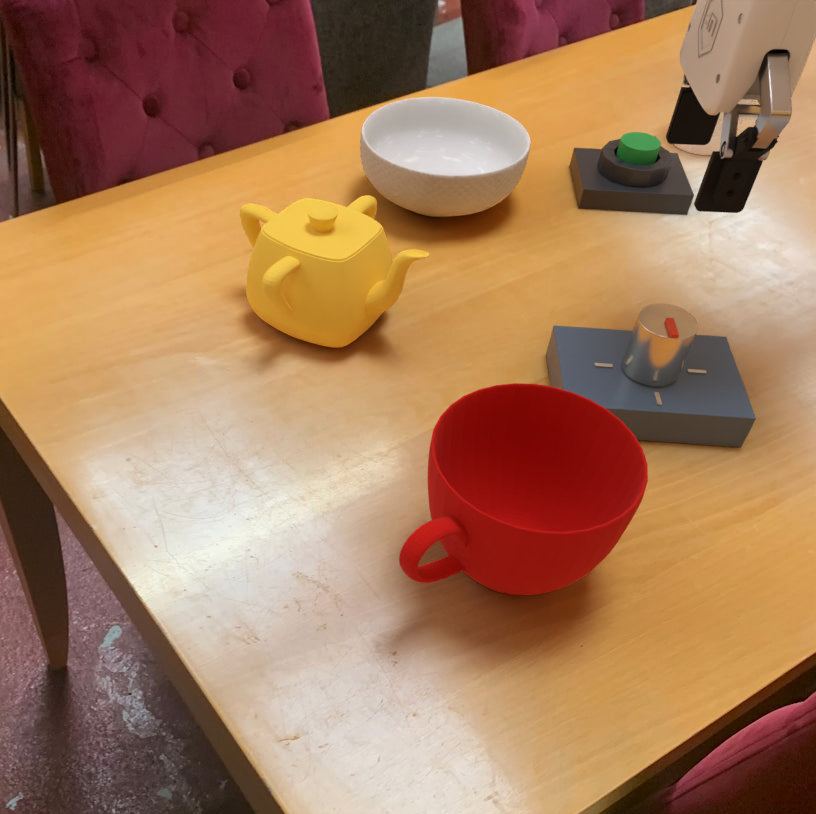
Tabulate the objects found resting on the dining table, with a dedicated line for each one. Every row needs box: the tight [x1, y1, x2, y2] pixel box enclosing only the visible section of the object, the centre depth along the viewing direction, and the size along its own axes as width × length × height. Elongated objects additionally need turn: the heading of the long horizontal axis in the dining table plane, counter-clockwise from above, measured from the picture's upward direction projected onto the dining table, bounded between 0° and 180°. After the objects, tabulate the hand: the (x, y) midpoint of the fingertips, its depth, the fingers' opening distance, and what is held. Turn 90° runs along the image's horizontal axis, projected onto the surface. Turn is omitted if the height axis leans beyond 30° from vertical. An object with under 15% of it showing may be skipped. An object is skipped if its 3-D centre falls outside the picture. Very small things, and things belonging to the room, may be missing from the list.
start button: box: [616, 131, 662, 165], centre depth 91 cm, size 4×4×2 cm
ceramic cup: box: [398, 382, 649, 596], centre depth 56 cm, size 13×17×10 cm
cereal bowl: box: [359, 96, 532, 218], centre depth 90 cm, size 17×17×7 cm
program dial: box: [621, 303, 700, 387], centre depth 68 cm, size 4×4×5 cm
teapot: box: [239, 194, 430, 349], centre depth 75 cm, size 14×13×10 cm
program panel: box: [545, 325, 757, 448], centre depth 71 cm, size 14×10×3 cm
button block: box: [568, 138, 695, 216], centre depth 93 cm, size 11×9×4 cm
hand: (701, 174), depth 64 cm, fingers open, 9 cm apart
